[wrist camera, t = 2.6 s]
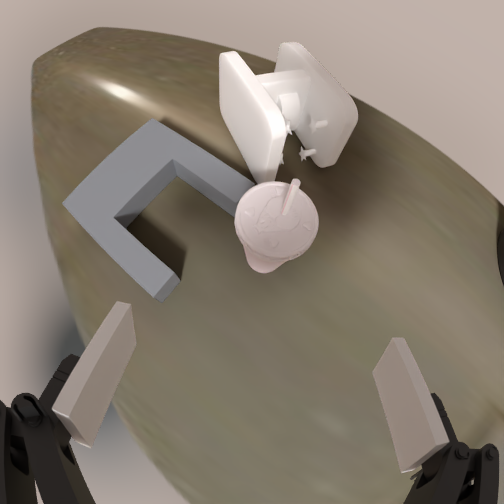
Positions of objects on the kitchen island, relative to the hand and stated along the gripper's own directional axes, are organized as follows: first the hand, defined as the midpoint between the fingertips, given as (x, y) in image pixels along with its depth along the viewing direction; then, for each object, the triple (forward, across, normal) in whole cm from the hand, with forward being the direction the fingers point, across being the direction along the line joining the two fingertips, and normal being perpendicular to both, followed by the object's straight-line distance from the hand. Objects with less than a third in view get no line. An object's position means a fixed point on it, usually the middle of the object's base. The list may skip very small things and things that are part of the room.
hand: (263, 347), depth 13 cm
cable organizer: (+29, 0, +8) cm, 30 cm away
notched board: (+20, -12, -1) cm, 23 cm away
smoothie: (+17, +1, -4) cm, 18 cm away
